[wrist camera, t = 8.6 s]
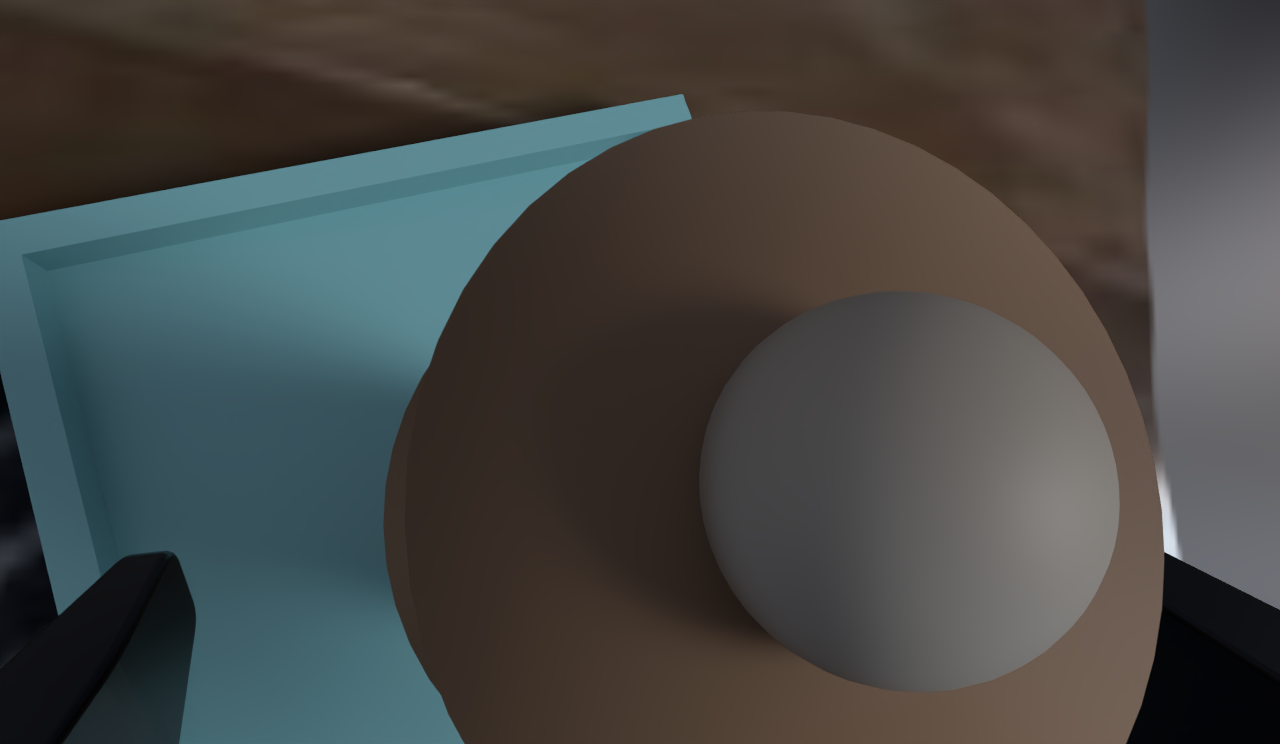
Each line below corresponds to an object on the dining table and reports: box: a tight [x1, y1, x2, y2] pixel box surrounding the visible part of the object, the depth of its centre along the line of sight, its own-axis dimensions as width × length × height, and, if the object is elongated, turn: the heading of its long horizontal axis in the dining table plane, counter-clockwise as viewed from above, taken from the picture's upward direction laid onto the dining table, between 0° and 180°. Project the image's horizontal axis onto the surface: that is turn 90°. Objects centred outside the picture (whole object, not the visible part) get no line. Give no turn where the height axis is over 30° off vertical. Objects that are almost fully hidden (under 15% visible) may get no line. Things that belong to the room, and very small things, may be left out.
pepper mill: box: [383, 111, 1164, 744], centre depth 10 cm, size 5×5×15 cm
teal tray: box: [0, 94, 692, 744], centre depth 17 cm, size 18×16×2 cm
